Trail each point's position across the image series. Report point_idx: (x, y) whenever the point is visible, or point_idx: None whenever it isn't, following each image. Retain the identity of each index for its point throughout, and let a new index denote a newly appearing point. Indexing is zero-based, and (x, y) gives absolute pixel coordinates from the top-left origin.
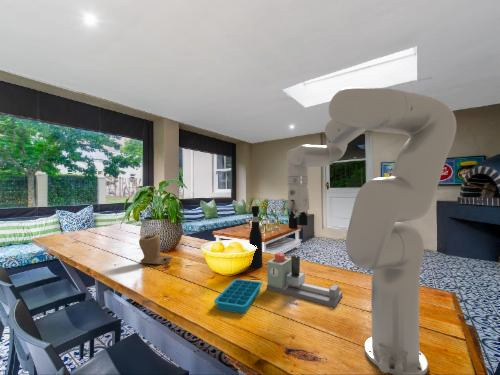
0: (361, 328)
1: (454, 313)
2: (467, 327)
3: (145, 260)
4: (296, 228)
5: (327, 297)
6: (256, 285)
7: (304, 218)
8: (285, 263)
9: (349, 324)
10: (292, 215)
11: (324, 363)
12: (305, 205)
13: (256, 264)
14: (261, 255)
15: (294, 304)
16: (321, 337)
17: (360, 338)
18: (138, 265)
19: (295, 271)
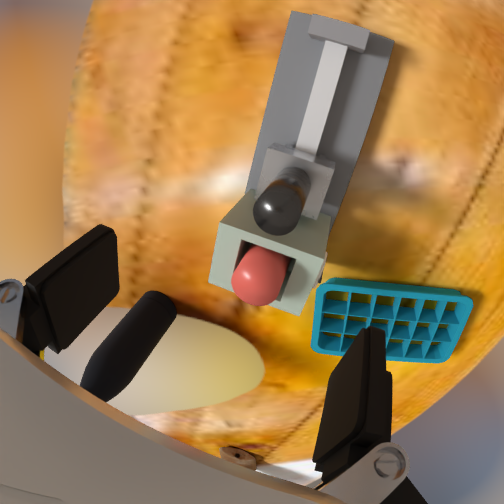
0: (477, 3)
1: None
2: None
3: (254, 470)
4: (381, 335)
5: (361, 59)
6: (324, 294)
7: (71, 289)
8: (290, 244)
9: (471, 25)
10: (416, 492)
11: None
12: (37, 494)
13: (168, 311)
14: (140, 314)
15: (407, 167)
16: None
17: None
18: (262, 468)
19: (308, 189)
